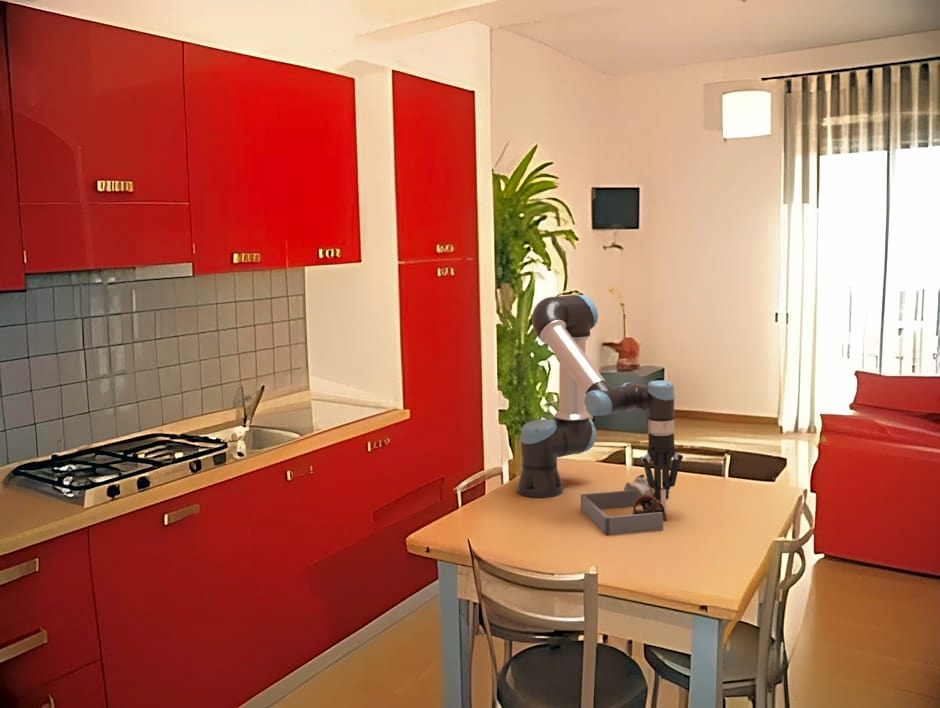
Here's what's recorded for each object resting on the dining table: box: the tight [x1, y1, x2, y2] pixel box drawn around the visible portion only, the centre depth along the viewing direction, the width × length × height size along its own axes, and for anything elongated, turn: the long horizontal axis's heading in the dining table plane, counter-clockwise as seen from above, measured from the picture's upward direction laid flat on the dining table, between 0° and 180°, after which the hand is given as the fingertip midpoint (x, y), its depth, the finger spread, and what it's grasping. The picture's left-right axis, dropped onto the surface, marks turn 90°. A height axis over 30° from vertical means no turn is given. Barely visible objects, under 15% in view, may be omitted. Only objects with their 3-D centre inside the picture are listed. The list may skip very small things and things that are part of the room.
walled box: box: [580, 490, 664, 536], centre depth 260 cm, size 24×17×5 cm
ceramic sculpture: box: [623, 474, 670, 502], centre depth 278 cm, size 11×9×15 cm
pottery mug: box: [632, 495, 668, 521], centre depth 259 cm, size 12×10×8 cm
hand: (661, 509), depth 262 cm, fingers closed
